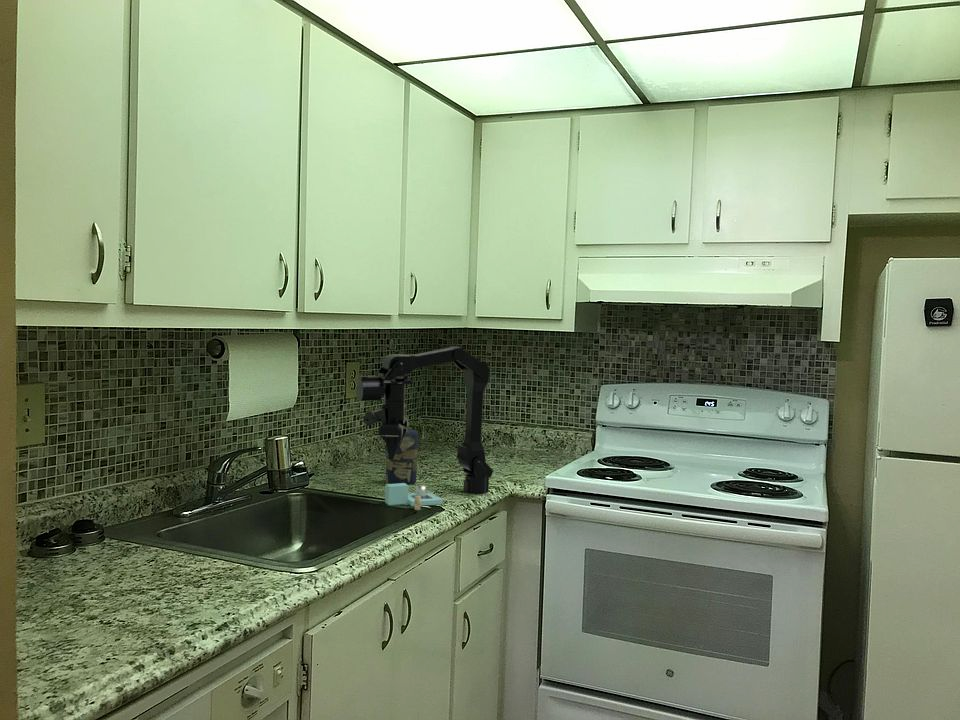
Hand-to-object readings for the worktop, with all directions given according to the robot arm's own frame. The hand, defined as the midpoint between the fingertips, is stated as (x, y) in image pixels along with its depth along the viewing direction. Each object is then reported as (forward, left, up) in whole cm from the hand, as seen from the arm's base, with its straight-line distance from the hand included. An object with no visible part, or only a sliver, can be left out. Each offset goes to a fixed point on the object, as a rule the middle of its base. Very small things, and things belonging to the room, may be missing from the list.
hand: (393, 456), depth 212 cm
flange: (-4, +5, -12) cm, 13 cm away
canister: (-11, -21, -13) cm, 27 cm away
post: (-7, +5, -12) cm, 15 cm away
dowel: (-2, +13, -12) cm, 18 cm away
